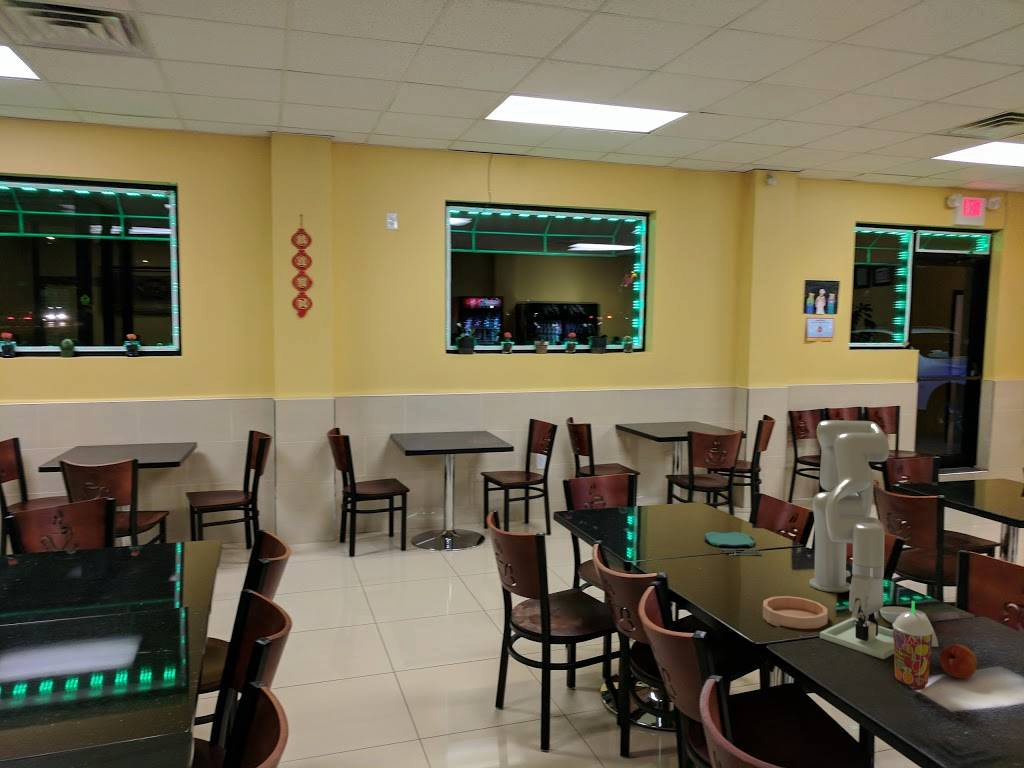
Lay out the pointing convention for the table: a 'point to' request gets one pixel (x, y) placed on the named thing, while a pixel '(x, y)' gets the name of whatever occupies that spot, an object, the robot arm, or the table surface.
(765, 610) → the bowl
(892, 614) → the spoon rest
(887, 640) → the tray
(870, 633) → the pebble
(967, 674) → the fruit
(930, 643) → the smoothie
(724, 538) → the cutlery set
